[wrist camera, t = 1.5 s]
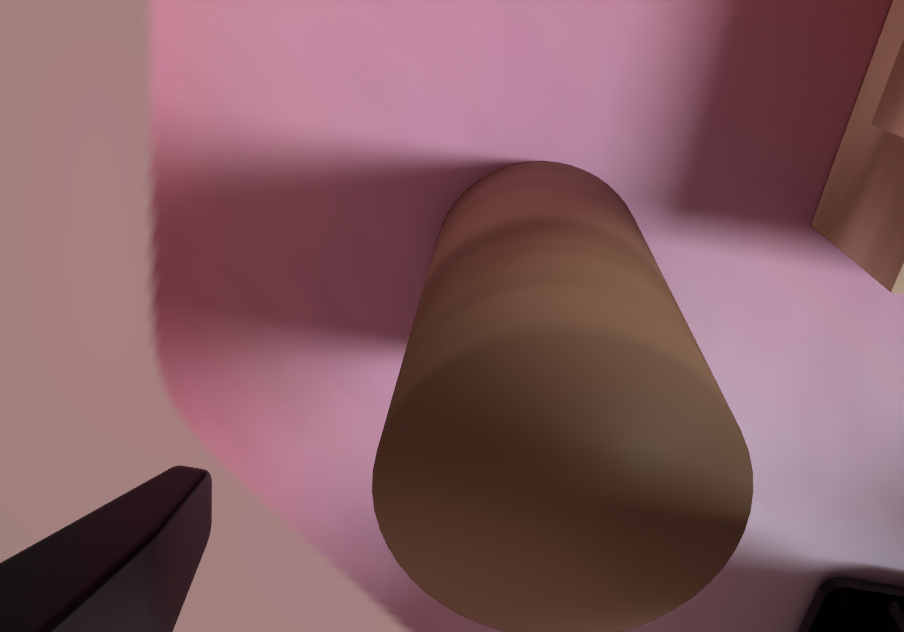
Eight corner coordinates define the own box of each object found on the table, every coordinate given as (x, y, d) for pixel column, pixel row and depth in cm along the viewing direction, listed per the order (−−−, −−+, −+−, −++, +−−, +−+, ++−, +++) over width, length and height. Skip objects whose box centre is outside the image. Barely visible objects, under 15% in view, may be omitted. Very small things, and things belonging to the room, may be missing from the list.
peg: (614, 368, 19) (691, 662, 11) (422, 337, 19) (356, 608, 11) (666, 179, 17) (809, 369, 9) (450, 145, 17) (393, 301, 9)
